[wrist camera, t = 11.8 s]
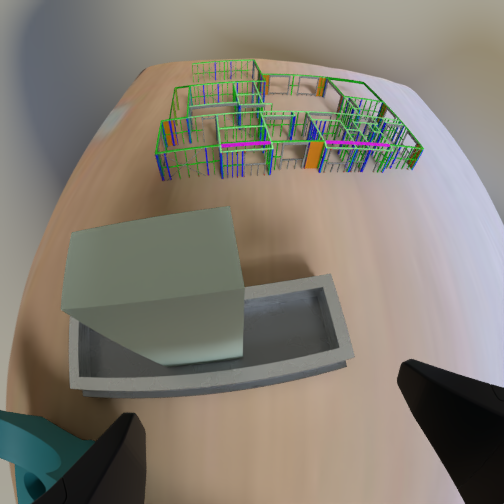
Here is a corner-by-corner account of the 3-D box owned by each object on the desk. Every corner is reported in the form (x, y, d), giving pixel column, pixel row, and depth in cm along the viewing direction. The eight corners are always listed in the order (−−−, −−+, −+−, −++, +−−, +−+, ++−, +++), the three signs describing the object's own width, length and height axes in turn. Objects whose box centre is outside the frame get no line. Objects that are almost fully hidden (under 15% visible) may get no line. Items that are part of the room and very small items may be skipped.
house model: (162, 188, 30) (154, 158, 26) (176, 86, 45) (173, 65, 41) (414, 175, 34) (427, 152, 30) (342, 84, 49) (346, 66, 44)
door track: (319, 283, 24) (329, 268, 22) (341, 368, 20) (356, 363, 18) (87, 313, 22) (71, 301, 19) (89, 396, 18) (70, 394, 15)
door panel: (236, 321, 21) (229, 205, 9) (242, 357, 20) (244, 288, 8) (162, 330, 20) (71, 232, 8) (166, 366, 19) (60, 309, 7)
